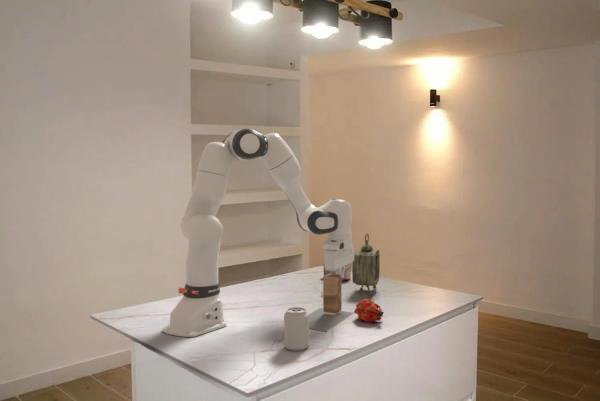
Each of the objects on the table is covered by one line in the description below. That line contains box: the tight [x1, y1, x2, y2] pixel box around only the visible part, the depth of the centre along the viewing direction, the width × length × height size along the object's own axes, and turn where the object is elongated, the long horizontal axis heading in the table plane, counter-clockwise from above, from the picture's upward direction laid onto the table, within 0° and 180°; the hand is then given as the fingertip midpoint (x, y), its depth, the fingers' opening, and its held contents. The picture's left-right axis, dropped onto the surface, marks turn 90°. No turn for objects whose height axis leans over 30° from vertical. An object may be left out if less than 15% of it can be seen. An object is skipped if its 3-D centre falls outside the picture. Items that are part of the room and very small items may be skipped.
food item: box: [323, 263, 352, 282], centre depth 264 cm, size 14×8×10 cm, turn 45°
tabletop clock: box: [351, 233, 381, 296], centre depth 238 cm, size 14×9×25 cm, turn 162°
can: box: [283, 306, 310, 352], centre depth 172 cm, size 8×8×12 cm
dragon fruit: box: [353, 298, 384, 324], centre depth 197 cm, size 8×8×12 cm
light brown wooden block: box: [322, 274, 343, 316], centre depth 207 cm, size 5×5×14 cm
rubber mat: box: [308, 307, 354, 333], centre depth 200 cm, size 24×14×1 cm, turn 152°
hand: (339, 278), depth 212 cm, fingers closed
